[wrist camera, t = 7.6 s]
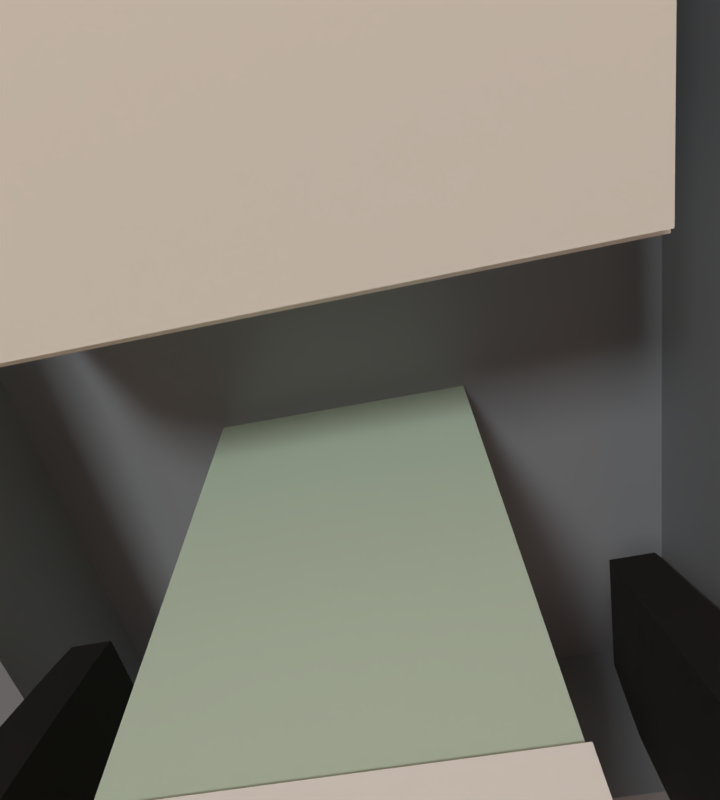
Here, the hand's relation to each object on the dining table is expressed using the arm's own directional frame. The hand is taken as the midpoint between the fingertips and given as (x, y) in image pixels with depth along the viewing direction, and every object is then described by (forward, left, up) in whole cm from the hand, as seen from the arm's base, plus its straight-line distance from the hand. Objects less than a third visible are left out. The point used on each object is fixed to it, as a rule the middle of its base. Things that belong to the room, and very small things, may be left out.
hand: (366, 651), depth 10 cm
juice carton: (0, 0, -4) cm, 4 cm away
